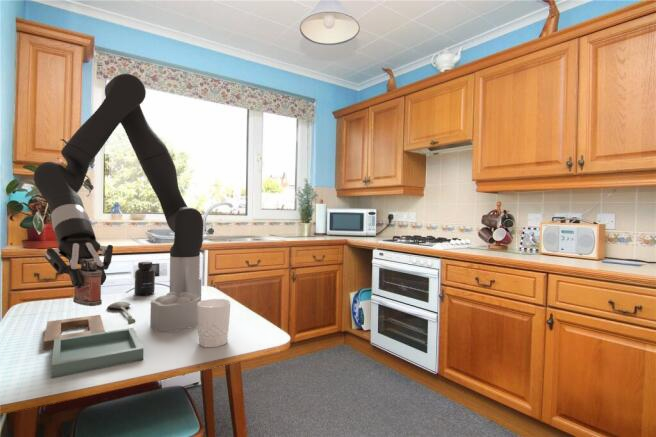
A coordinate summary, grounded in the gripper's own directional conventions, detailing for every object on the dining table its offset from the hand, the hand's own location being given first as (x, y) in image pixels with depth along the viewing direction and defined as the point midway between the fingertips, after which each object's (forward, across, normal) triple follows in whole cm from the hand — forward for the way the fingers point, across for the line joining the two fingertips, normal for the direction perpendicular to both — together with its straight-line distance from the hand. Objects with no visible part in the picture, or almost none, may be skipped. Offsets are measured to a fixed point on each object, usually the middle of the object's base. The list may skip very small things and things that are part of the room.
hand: (91, 284), depth 81 cm
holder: (0, +2, +23) cm, 23 cm away
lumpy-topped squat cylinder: (+8, +24, +15) cm, 29 cm away
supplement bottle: (-22, +34, +45) cm, 60 cm away
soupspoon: (-7, +18, +30) cm, 36 cm away
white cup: (+21, +22, +1) cm, 31 cm away
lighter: (+2, 0, +5) cm, 5 cm away
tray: (+13, +1, +10) cm, 16 cm away
